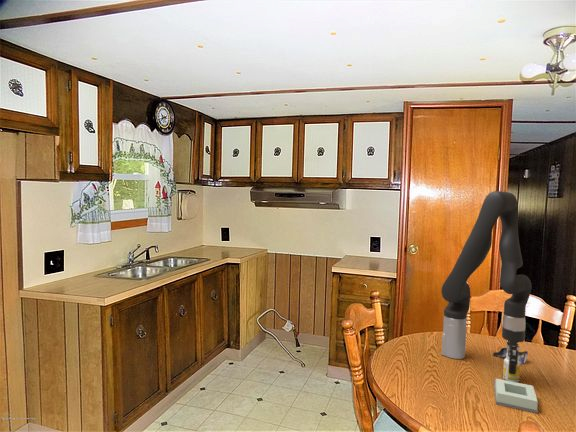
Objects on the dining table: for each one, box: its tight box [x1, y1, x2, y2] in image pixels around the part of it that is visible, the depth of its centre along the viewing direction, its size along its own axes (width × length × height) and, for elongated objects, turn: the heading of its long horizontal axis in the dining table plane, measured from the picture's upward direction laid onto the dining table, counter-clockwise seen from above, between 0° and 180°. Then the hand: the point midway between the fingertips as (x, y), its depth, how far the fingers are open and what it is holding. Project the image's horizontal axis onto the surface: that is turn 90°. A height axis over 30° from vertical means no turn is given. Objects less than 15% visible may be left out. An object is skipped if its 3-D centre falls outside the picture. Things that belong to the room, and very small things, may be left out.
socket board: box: [493, 378, 539, 414], centre depth 136 cm, size 12×17×4 cm
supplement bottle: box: [502, 353, 521, 383], centre depth 149 cm, size 5×5×10 cm
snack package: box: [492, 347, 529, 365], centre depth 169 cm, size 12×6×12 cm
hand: (511, 370), depth 149 cm, fingers closed on supplement bottle, 5 cm apart
